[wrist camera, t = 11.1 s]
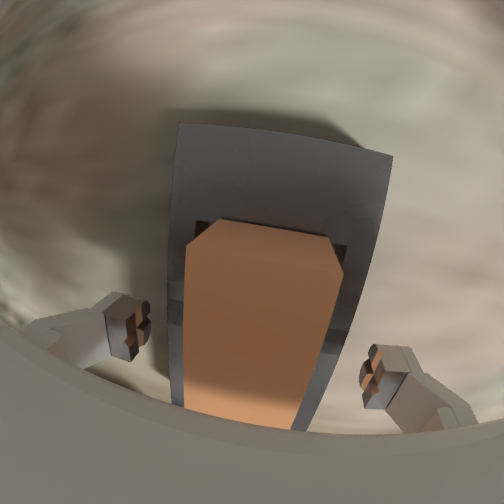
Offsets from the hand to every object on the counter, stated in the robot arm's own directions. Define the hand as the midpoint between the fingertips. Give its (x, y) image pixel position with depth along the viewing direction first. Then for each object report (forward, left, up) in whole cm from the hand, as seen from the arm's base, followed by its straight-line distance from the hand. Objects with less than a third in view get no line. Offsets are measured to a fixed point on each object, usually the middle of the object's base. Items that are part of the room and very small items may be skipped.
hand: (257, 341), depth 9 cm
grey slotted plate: (0, 0, -3) cm, 3 cm away
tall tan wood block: (0, 0, -3) cm, 3 cm away
